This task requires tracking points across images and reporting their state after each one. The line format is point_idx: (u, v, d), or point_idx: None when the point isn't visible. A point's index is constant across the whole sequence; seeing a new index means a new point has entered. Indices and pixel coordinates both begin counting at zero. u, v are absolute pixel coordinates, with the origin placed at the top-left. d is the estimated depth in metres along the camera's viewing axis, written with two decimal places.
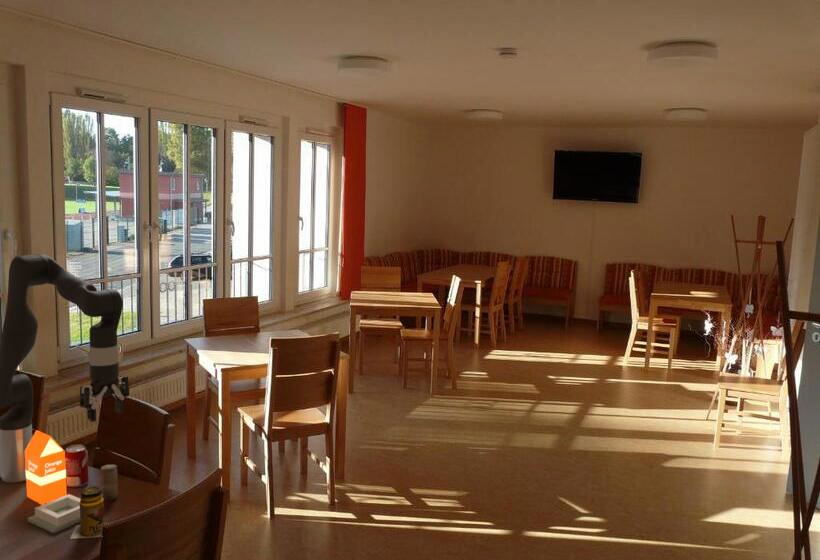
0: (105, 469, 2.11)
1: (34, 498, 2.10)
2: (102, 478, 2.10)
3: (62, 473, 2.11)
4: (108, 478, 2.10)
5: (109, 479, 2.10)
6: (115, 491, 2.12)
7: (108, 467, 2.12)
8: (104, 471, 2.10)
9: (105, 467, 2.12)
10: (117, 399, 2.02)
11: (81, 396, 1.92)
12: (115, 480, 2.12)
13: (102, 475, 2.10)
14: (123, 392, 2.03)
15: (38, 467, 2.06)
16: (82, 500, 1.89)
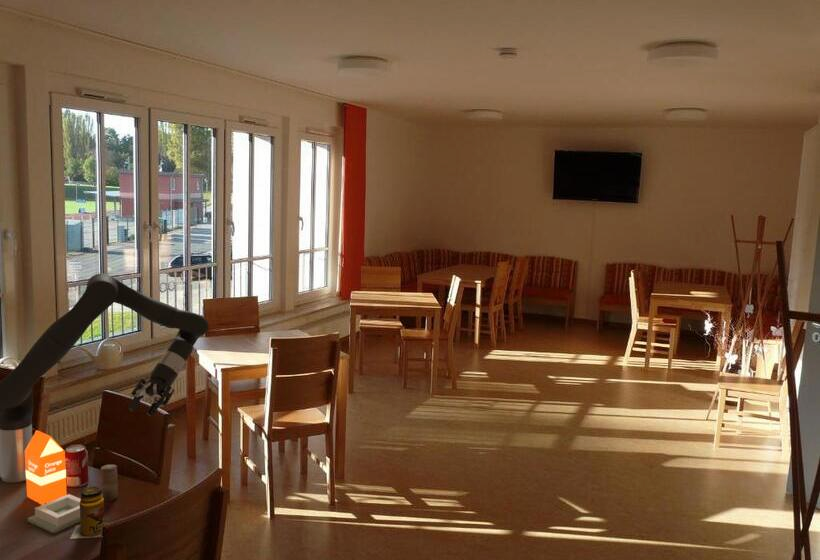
0: (105, 469, 2.11)
1: (34, 498, 2.10)
2: (102, 478, 2.10)
3: (62, 473, 2.11)
4: (108, 478, 2.10)
5: (109, 479, 2.10)
6: (115, 491, 2.12)
7: (108, 467, 2.12)
8: (104, 471, 2.10)
9: (105, 467, 2.12)
10: (138, 398, 2.23)
11: (167, 394, 2.19)
12: (115, 480, 2.12)
13: (102, 475, 2.10)
14: None
15: (38, 467, 2.06)
16: (82, 500, 1.89)
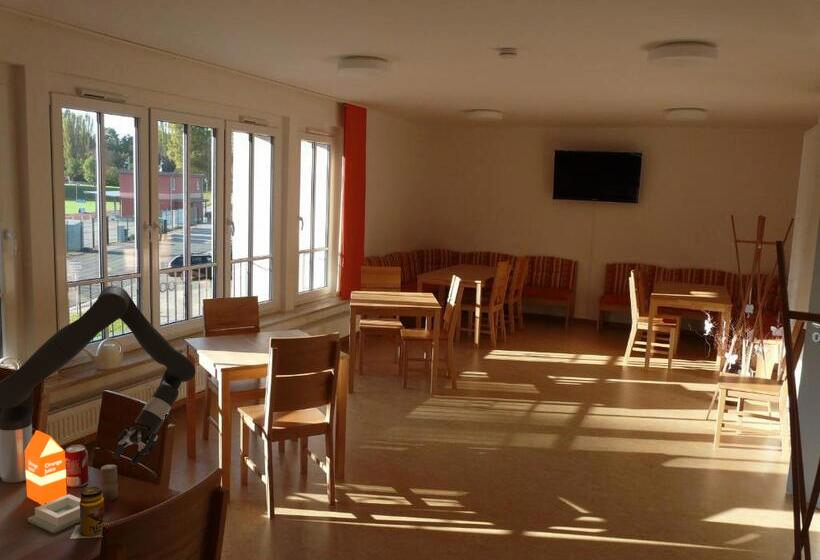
0: (105, 469, 2.11)
1: (34, 498, 2.10)
2: (102, 478, 2.10)
3: (62, 473, 2.11)
4: (108, 478, 2.10)
5: (109, 479, 2.10)
6: (115, 491, 2.12)
7: (108, 467, 2.12)
8: (104, 471, 2.10)
9: (105, 467, 2.12)
10: (122, 446, 2.20)
11: (152, 442, 2.16)
12: (115, 480, 2.12)
13: (102, 475, 2.10)
14: (121, 440, 2.22)
15: (38, 467, 2.06)
16: (82, 500, 1.89)
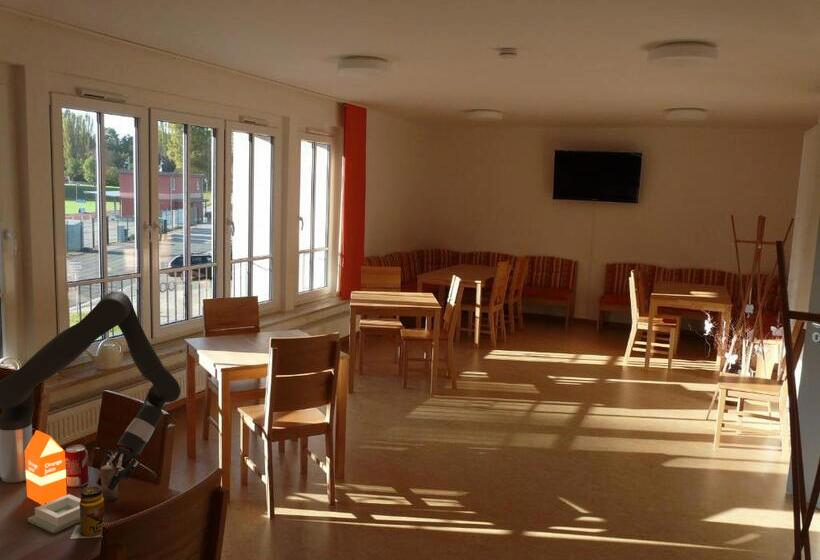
0: (105, 469, 2.11)
1: (34, 498, 2.10)
2: (102, 478, 2.10)
3: (62, 473, 2.11)
4: (108, 478, 2.10)
5: (109, 479, 2.10)
6: (115, 491, 2.12)
7: (108, 467, 2.12)
8: (104, 471, 2.10)
9: (105, 467, 2.12)
10: None
11: (130, 468, 2.11)
12: None
13: (102, 475, 2.10)
14: None
15: (38, 467, 2.06)
16: (82, 500, 1.89)
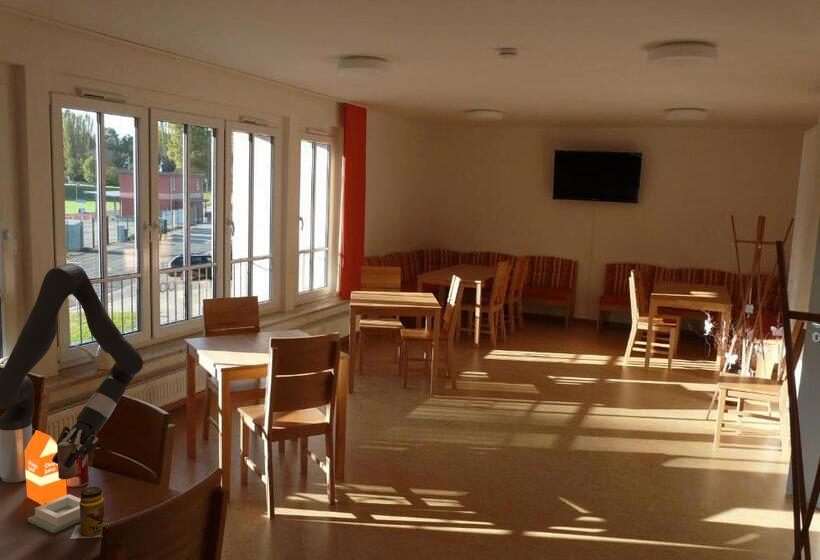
0: (62, 445, 1.98)
1: (34, 498, 2.10)
2: (58, 455, 1.97)
3: None
4: (65, 456, 1.97)
5: (66, 456, 1.97)
6: (73, 469, 1.99)
7: (65, 444, 1.99)
8: (61, 448, 1.97)
9: (62, 444, 1.99)
10: None
11: (88, 445, 1.98)
12: None
13: (59, 452, 1.97)
14: None
15: (38, 467, 2.06)
16: (82, 500, 1.89)
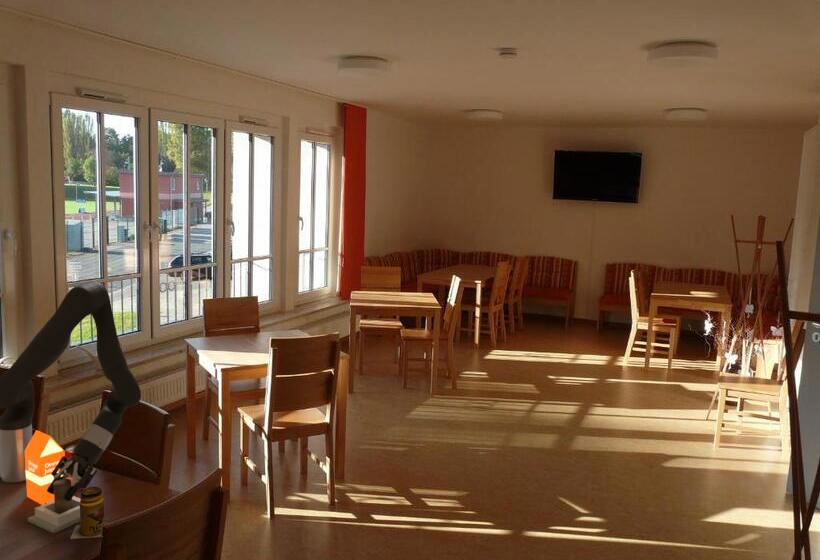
0: (58, 484, 1.98)
1: (34, 498, 2.10)
2: (55, 493, 1.97)
3: None
4: (61, 494, 1.97)
5: (62, 495, 1.97)
6: (69, 507, 1.99)
7: (61, 482, 1.99)
8: (57, 486, 1.97)
9: (58, 482, 1.99)
10: (58, 479, 2.02)
11: (87, 476, 1.98)
12: None
13: (55, 490, 1.97)
14: None
15: (38, 467, 2.06)
16: (82, 500, 1.89)
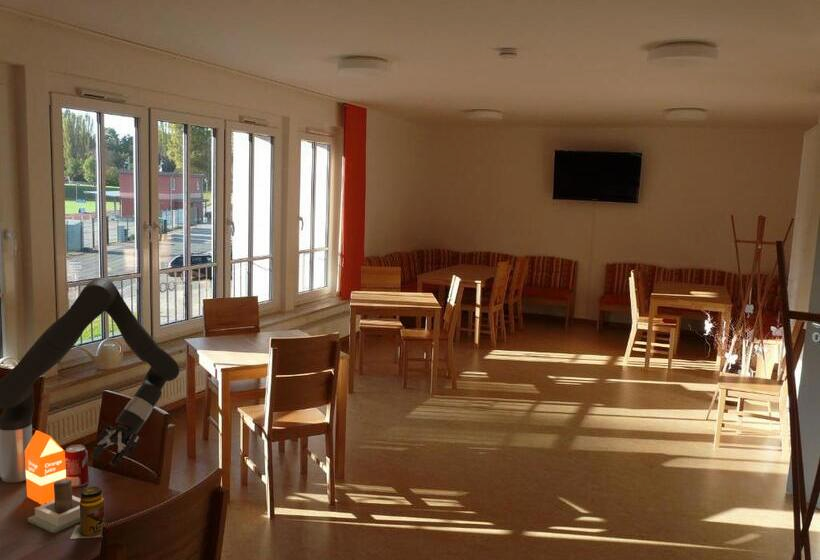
0: (58, 483, 1.98)
1: (34, 498, 2.10)
2: (55, 493, 1.97)
3: (62, 473, 2.11)
4: (61, 494, 1.97)
5: (63, 494, 1.97)
6: (69, 507, 1.99)
7: (62, 482, 1.99)
8: (57, 486, 1.97)
9: (58, 482, 1.99)
10: (102, 446, 2.14)
11: (132, 443, 2.10)
12: (69, 495, 1.99)
13: (55, 490, 1.97)
14: None
15: (38, 467, 2.06)
16: (82, 500, 1.89)
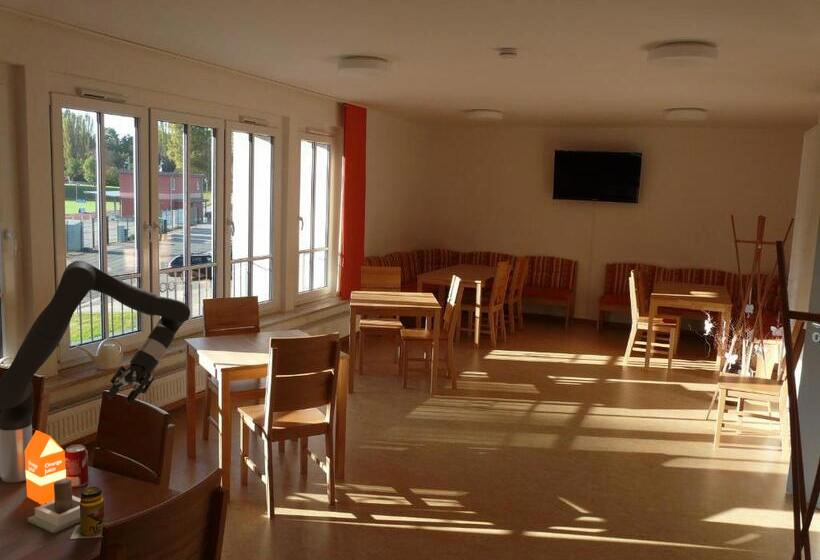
0: (58, 483, 1.98)
1: (34, 498, 2.10)
2: (55, 493, 1.97)
3: (62, 473, 2.11)
4: (61, 494, 1.97)
5: (63, 494, 1.97)
6: (69, 507, 1.99)
7: (62, 482, 1.99)
8: (57, 486, 1.97)
9: (58, 482, 1.99)
10: (117, 386, 2.19)
11: (146, 381, 2.15)
12: (69, 495, 1.99)
13: (55, 490, 1.97)
14: None
15: (38, 467, 2.06)
16: (82, 500, 1.89)
